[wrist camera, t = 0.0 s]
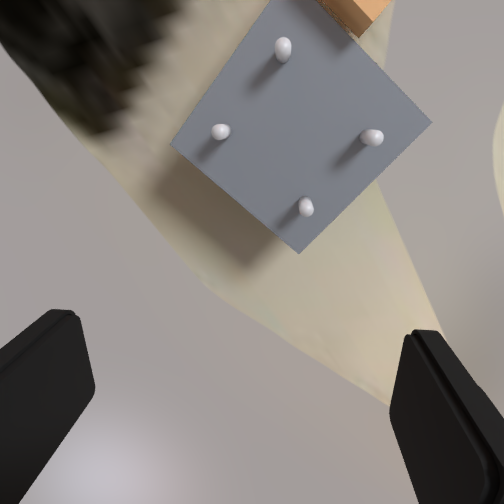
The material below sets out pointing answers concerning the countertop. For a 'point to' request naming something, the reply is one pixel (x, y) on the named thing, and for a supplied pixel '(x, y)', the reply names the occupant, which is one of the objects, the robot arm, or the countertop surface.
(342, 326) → the countertop surface
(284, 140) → the pin tray
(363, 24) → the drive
